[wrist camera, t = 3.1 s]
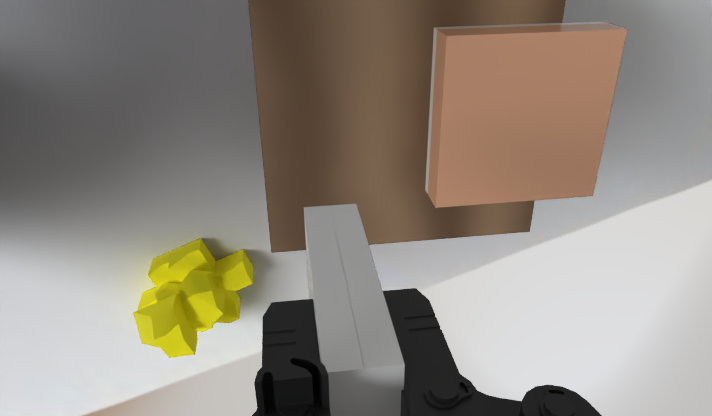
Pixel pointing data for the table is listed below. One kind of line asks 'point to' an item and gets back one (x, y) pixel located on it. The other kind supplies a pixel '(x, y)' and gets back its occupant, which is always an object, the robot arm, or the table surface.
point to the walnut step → (364, 113)
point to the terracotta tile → (519, 110)
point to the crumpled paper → (190, 296)
